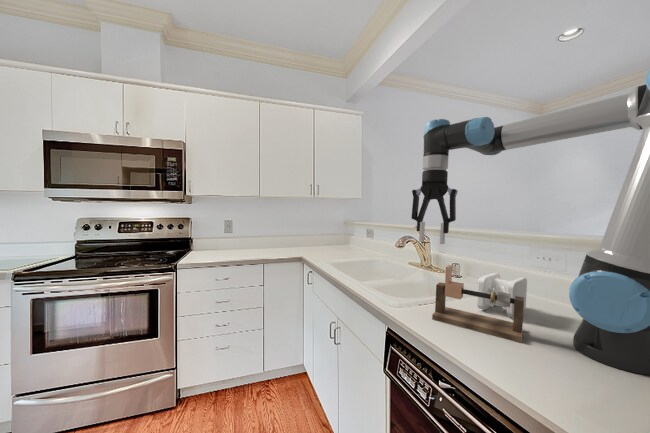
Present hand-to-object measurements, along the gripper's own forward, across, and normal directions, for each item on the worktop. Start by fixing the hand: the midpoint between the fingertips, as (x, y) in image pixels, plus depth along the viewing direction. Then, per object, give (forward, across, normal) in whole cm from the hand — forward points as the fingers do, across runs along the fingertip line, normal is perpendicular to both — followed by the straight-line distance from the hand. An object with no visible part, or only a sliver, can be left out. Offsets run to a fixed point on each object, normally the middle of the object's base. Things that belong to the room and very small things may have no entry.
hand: (431, 242), depth 87 cm
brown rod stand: (+23, -14, 0) cm, 27 cm away
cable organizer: (+23, -18, -19) cm, 35 cm away
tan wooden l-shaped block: (+16, -7, 0) cm, 17 cm away
